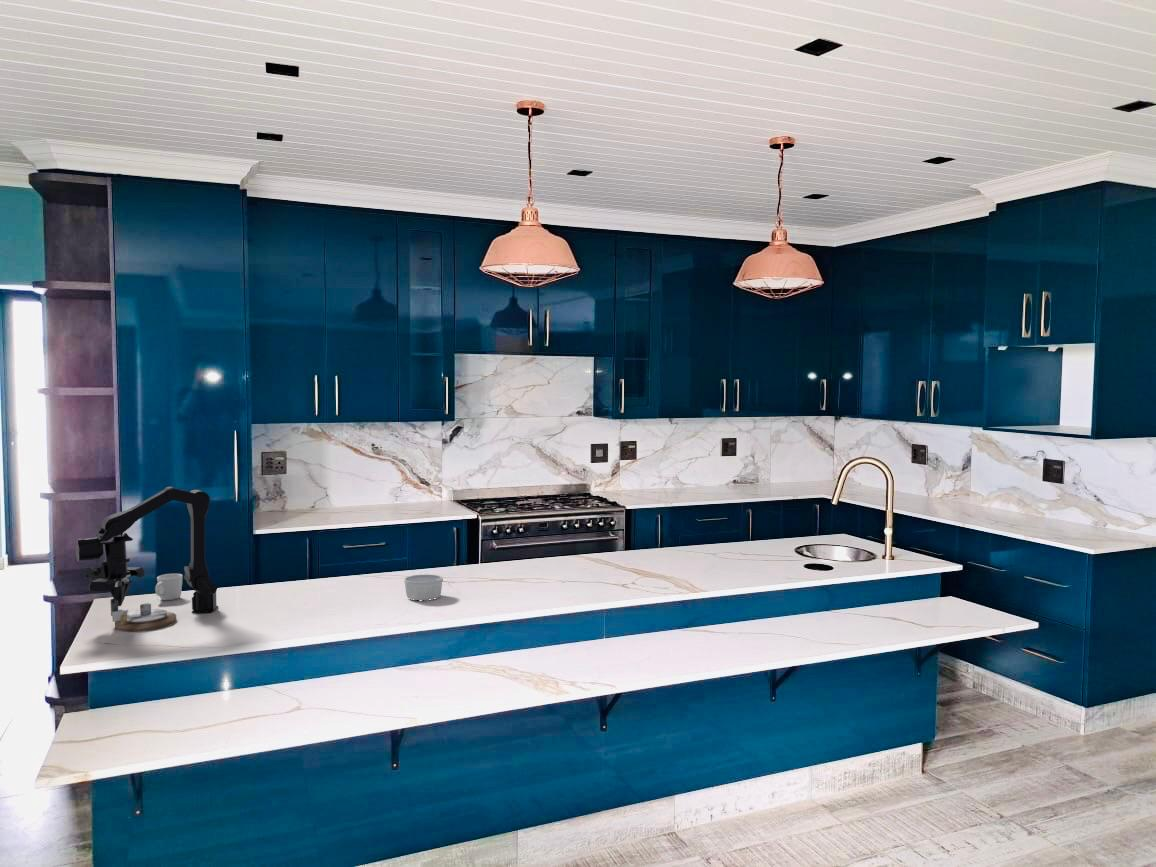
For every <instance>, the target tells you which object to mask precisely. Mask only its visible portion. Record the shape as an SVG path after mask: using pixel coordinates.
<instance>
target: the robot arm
mask: <svg viewBox="0 0 1156 867" xmlns="http://www.w3.org/2000/svg"><path fill="white" fill-rule="evenodd" d="M172 501H176V502H181V503H185V504H186V506H187V510H188V513H189V517H190V561H189V564H188V566H185V565H184V567H183V570H184V575H183V579H184V580H185V582H186V584H187V585H188V586H189V587H191V588H192V589H193V591H194V592H193V593H192V596H193V597H191V610H192V611H191V613H192V614H196V613H199V614H200V613H201V614H203V613H206V614H207V613H213V612H215V611H216V610H217V609H218V608H219V605H218V604H217V590H218V586H217V585H216V584H214V583H213V582H212V581H211V579H210V572H209V569H208V566H207V562H206V517H207V515H208V512H209V508H210V501H211V498H210V496H209V494H208V493H207V492H206V491H202V490H200V489H193V490H190V491H189V490H185V489H181V488H180V489H179V488H175V487H173V486H166V487H165V488H164V489H163V490H161V491H159V492H157V493H156V494H154V495H152V496H150V497H149V498H147V499H145V500H143V501H141V502H139V503H138V504H136V505H135V506H132V507H131V508H128V509H126V510H122V511H119V512H115V513H113V514H110V515H108V516H106V517H104V518H103V520H102V523H101V528H100V529H99V531H98V532H97V533H96V535H95V536H94V537H88V538H77V539H76V548H75V555H76V560H77V562H78V563H81V562H86V561H95V560H100V559H101V557H103V556H104V557H105V560H103V561H102V562H101V566H98V567H94V566H91V567H87V568H85V572H84V575H85V576H84V577H85V578H86V579H88V580H90V582H89V583H88V591H89V592H110V594H111V596H112V599H114V598H118V607H122V605H123V603H124V600H125V598H126V595H127V593H128V591H129V590H130V588H131V586H132V584H133V583H134V581H131V580H129V578H131V577H137V579H140V578H142V577H144V576H145V570H144V569H143V567H141V566H133V567H132V566H128V563H129V562H131V559H130V557H128V556H127V545H126V542H132V541H133V540H134V538H133V537H131V536H130V535H128V533H127V532H126V531H127V530H129V529H130V528H131V527H132V526H133V525H134V524H136V522H137V521H139V520H140V519H142V518H143V517H145V516H147V515H149V514H151V513H152V512H154V511H156V510H157V509H160V508H161V507H163V506H165V505H167V504H168V503H170V502H172ZM104 553H105V554H104Z"/></svg>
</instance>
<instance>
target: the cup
mask: <svg viewBox="0 0 1156 867" xmlns="http://www.w3.org/2000/svg"><path fill="white" fill-rule="evenodd" d="M183 578H184V575H183V574H182V573H165V574H161V575H158V576H157V577H156V581H157V583H156V585H155V587H154V590H155V594H156V596H157V597H159V598H160V600H163V601H172V600H177V599H179V598H181V595H182V590H183V589H182V587H183Z"/></svg>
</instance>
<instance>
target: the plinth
mask: <svg viewBox="0 0 1156 867" xmlns="http://www.w3.org/2000/svg"><path fill="white" fill-rule="evenodd" d="M176 622H177V614H176V613H174V612H170V611H167V617H166V618H164V619H162V620H158V621H154V622H149V623H127V615H121V621H115V622H114V629H115V630H118V631H121V632H129V633H130V632H146V631H154V630H158V629H162V628H167V627H169V626H171V625H174V624H175V623H176Z"/></svg>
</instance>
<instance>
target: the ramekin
mask: <svg viewBox="0 0 1156 867" xmlns="http://www.w3.org/2000/svg"><path fill="white" fill-rule="evenodd" d="M403 583H404V586H405V587H404V588H405V594H406V597H407V599H409V598H410V599H414V600H429V599H434V598H438V597H439V598H440V597H441V594H442V588H443V587H442V586H443V583H444V578H443V576H441V575H438V574H430V573H427V574H426V573H425V574H413V575H409V576H406V577H405V578H404V579H403ZM439 598H438V599H439ZM410 599H409V600H410Z"/></svg>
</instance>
